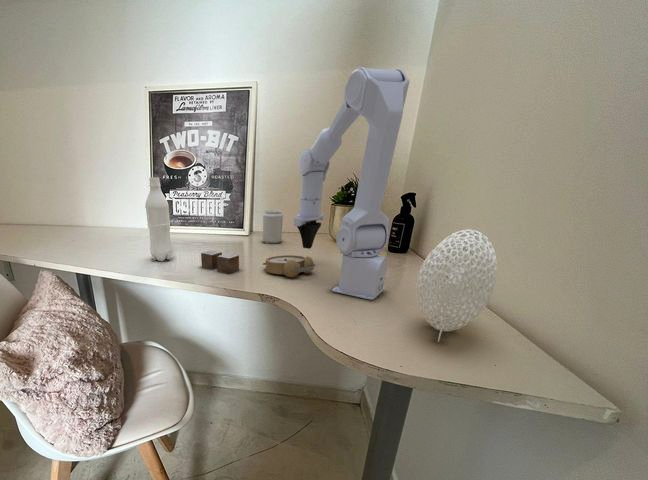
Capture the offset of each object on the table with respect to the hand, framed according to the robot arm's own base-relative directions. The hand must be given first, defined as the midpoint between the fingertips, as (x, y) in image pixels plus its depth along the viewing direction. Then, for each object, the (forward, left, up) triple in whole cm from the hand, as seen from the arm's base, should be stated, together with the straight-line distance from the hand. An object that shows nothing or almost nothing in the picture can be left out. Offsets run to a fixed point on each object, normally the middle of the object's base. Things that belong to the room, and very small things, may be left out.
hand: (307, 247), depth 98 cm
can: (+27, -23, -5) cm, 36 cm away
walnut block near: (+15, +18, -5) cm, 24 cm away
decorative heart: (-40, +24, -5) cm, 47 cm away
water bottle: (+41, +21, -5) cm, 47 cm away
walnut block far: (+21, +18, -5) cm, 29 cm away
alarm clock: (0, +9, -5) cm, 11 cm away
